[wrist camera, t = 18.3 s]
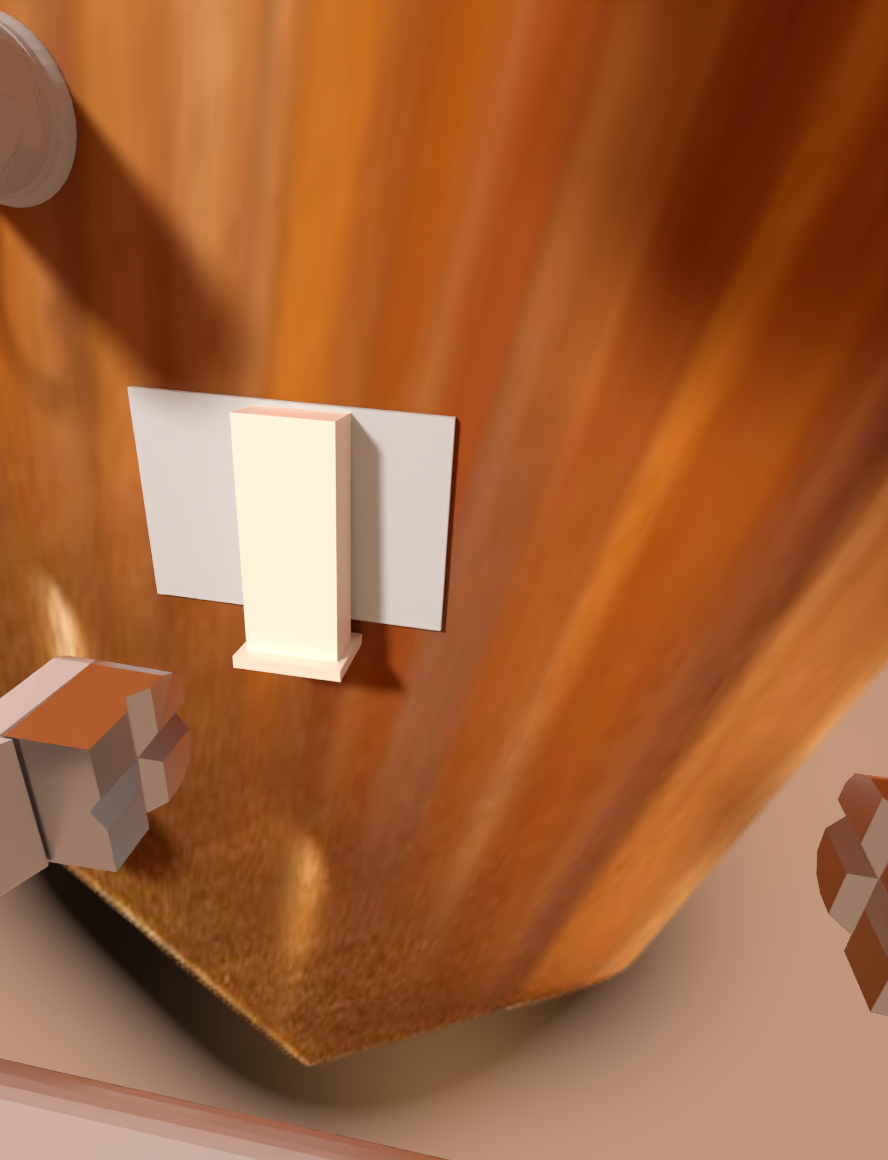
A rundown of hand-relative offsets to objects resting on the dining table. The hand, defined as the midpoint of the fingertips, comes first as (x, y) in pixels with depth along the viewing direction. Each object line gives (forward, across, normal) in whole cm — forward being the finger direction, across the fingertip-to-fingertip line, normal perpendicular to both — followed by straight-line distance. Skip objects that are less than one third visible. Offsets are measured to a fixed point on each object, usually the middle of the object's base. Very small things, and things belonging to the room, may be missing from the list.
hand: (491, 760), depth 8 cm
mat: (+31, +15, +9) cm, 36 cm away
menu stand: (+29, +14, +18) cm, 37 cm away
